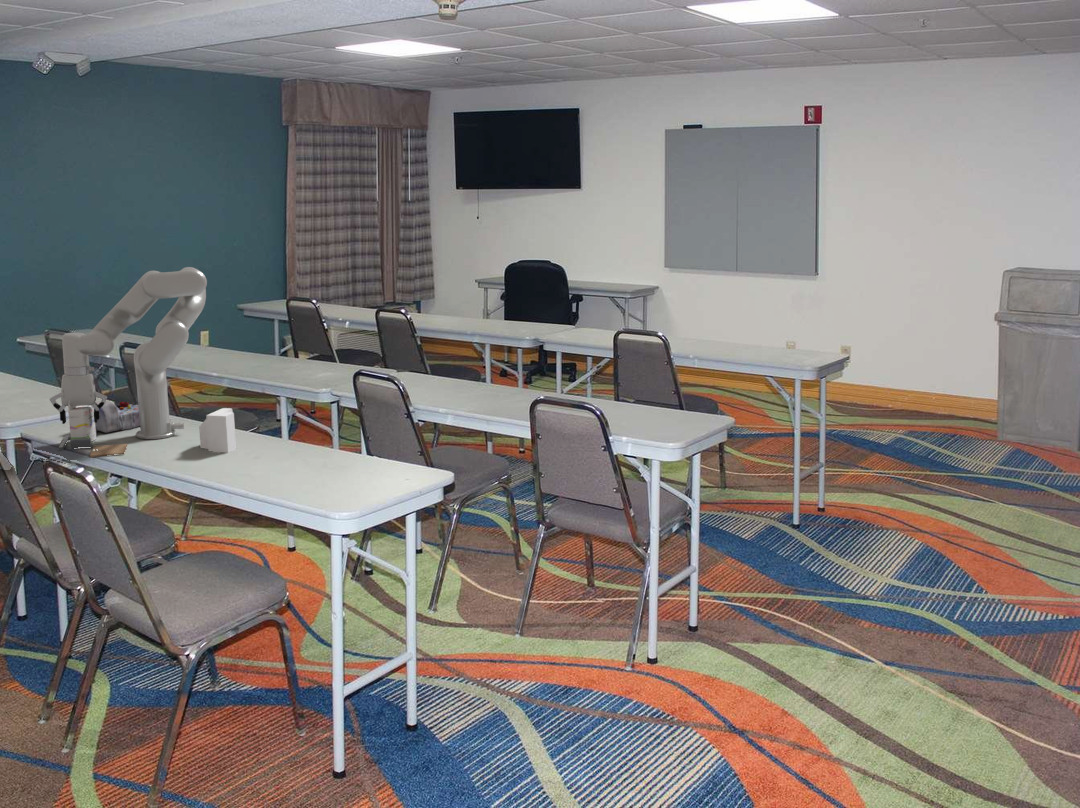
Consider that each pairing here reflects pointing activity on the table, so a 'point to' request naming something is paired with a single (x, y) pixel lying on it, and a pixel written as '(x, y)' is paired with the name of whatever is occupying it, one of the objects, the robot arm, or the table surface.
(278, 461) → the table surface
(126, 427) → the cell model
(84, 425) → the ink box
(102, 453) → the walnut board
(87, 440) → the vise jaws
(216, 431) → the white chunky block
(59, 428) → the table surface
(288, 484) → the table surface
